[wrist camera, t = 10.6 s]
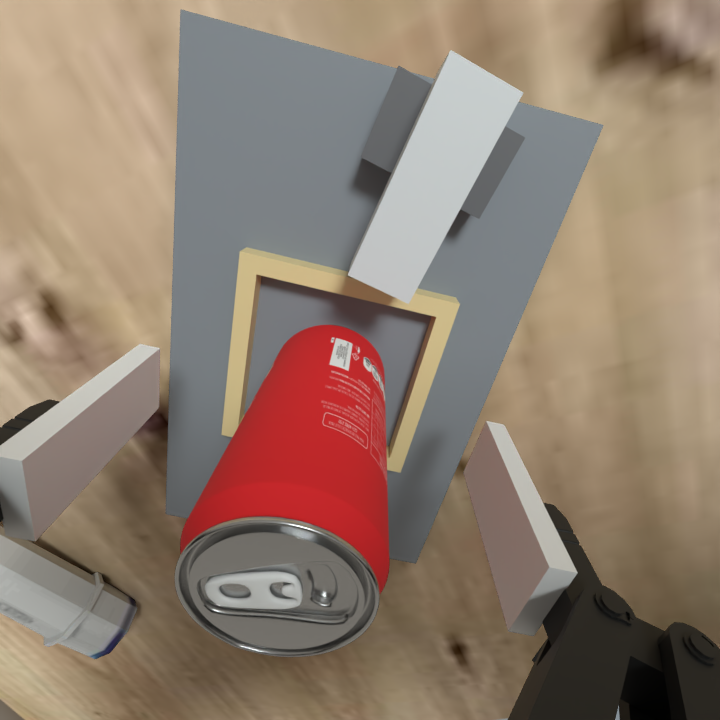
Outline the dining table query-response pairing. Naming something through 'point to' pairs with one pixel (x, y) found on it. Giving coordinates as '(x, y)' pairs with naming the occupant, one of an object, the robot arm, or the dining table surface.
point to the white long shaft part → (61, 599)
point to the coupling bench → (353, 241)
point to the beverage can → (296, 506)
